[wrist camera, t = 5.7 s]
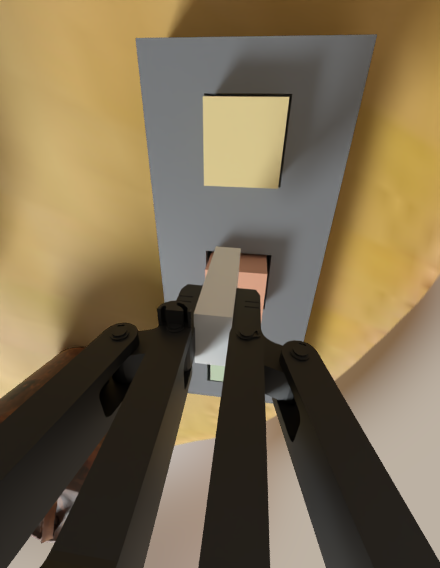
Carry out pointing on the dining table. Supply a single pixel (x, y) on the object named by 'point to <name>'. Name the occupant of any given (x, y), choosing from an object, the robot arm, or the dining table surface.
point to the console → (241, 200)
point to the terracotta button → (251, 274)
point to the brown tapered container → (64, 503)
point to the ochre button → (243, 140)
